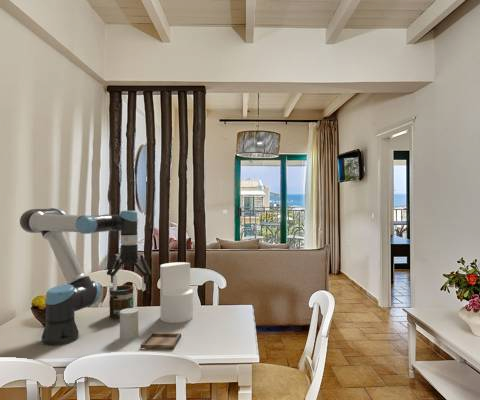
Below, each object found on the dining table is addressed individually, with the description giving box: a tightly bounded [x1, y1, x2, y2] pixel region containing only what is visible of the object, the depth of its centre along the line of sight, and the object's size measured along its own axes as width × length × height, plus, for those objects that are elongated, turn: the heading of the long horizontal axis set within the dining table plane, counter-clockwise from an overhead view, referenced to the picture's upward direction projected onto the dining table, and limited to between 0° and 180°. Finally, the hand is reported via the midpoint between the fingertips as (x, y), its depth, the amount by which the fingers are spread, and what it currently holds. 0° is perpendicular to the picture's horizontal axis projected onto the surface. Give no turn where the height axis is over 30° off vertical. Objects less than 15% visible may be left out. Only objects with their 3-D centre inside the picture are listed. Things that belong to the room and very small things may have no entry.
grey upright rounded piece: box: [119, 307, 139, 341], centre depth 167 cm, size 8×8×12 cm
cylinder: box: [159, 261, 194, 324], centre depth 195 cm, size 17×17×28 cm
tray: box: [140, 332, 182, 351], centre depth 160 cm, size 14×14×2 cm
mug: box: [108, 284, 135, 321], centre depth 195 cm, size 20×14×15 cm
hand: (129, 290), depth 167 cm, fingers open, 13 cm apart
